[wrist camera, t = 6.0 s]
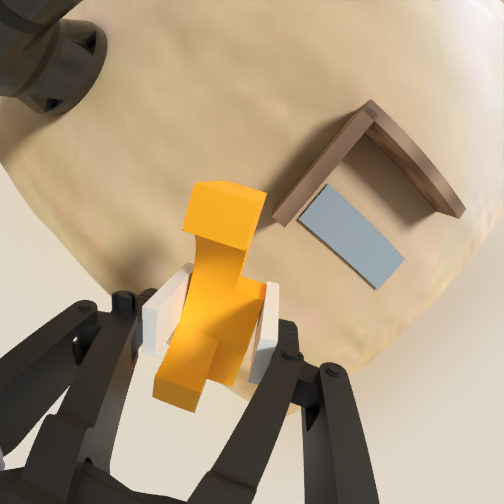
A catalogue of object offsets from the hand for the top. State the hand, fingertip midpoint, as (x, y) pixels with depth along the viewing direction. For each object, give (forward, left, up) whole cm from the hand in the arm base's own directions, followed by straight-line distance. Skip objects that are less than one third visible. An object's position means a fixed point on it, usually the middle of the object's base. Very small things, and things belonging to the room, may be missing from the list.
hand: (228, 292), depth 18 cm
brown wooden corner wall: (+7, +12, -13) cm, 19 cm away
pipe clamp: (0, +1, -1) cm, 1 cm away
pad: (+9, +8, -13) cm, 18 cm away
